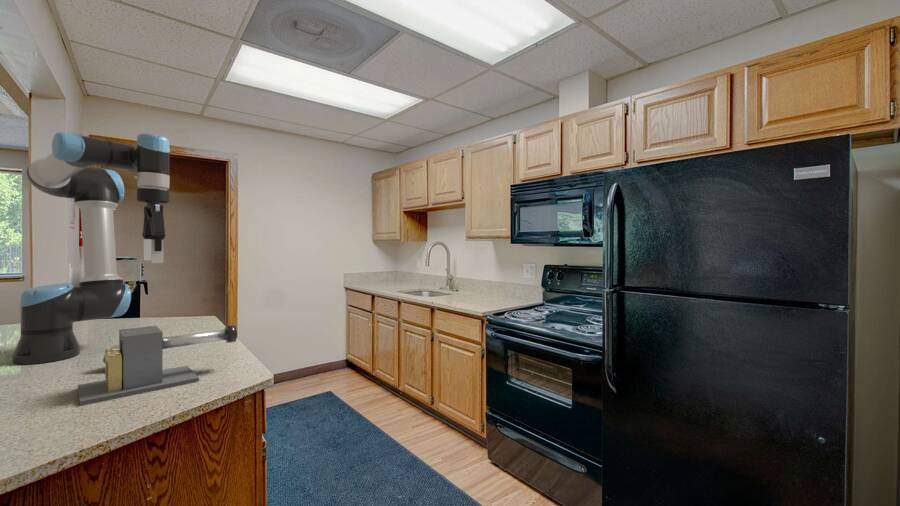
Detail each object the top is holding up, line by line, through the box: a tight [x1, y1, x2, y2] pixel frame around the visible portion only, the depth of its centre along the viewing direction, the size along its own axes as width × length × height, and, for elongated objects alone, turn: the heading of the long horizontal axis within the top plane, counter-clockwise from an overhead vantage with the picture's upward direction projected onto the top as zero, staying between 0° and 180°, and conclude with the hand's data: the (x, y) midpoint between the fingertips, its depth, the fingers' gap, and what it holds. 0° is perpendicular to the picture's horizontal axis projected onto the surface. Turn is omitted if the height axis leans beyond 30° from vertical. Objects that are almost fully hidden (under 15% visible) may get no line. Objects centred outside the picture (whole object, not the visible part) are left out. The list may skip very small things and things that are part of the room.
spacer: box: [104, 347, 122, 393], centre depth 100 cm, size 9×2×9 cm, turn 45°
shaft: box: [163, 324, 238, 350], centre depth 111 cm, size 5×24×5 cm, turn 136°
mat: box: [77, 365, 200, 406], centre depth 104 cm, size 14×24×1 cm, turn 136°
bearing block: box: [118, 325, 164, 390], centre depth 104 cm, size 10×8×15 cm
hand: (153, 261), depth 113 cm, fingers open, 13 cm apart
